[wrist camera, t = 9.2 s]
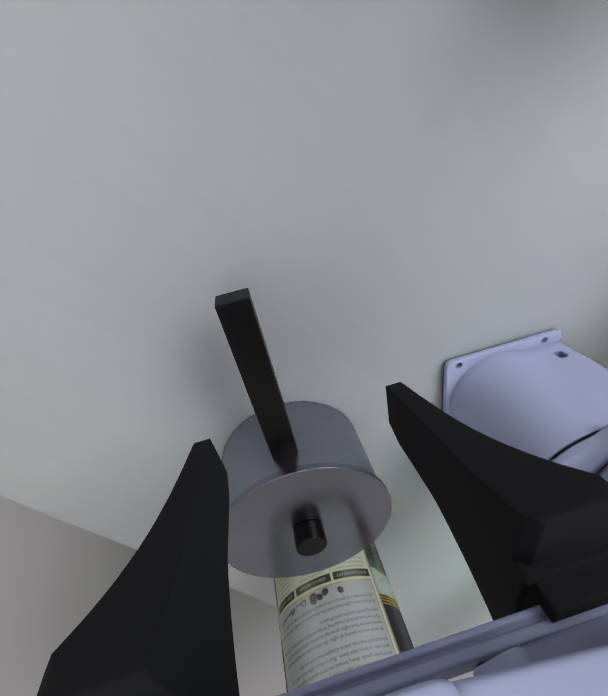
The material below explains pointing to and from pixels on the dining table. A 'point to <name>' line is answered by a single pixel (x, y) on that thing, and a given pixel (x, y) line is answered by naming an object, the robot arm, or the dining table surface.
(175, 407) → the dining table surface
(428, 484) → the robot arm
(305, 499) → the saucepan
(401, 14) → the dining table surface
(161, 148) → the dining table surface
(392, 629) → the coffee can
